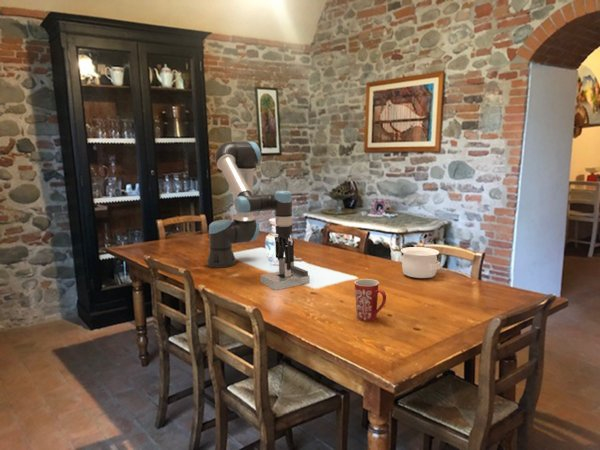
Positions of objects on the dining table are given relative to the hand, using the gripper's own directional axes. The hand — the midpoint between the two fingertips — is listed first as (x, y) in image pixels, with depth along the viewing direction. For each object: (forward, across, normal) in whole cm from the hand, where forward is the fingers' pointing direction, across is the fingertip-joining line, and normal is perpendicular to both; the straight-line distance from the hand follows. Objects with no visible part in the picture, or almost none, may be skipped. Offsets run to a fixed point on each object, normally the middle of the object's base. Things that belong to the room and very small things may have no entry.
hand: (284, 275), depth 216 cm
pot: (+4, +27, +59) cm, 65 cm away
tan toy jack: (+4, -18, +15) cm, 24 cm away
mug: (+5, +56, +3) cm, 56 cm away
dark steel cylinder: (+2, 0, 0) cm, 2 cm away
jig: (+4, 0, 0) cm, 4 cm away
